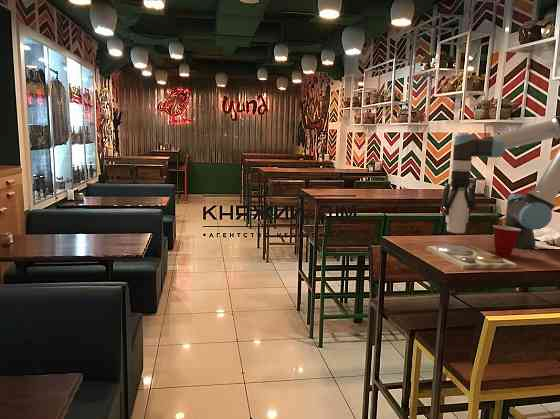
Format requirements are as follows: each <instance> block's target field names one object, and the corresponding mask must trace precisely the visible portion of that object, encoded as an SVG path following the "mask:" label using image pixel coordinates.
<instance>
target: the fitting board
mask: <svg viewBox="0 0 560 419" xmlns="http://www.w3.org/2000/svg"><path fill="white" fill-rule="evenodd" d="M436 246H437V245H426V248H425V249H426V251H428V252H430V253H432V254H434V255H436V256H438V257H439V256H440V258H441V257H442V259H443V258H444V259H443V260H446V261H447V262H449V263H451V264H453V265H455V266H457V267H459V268H460V267H461V269H463V270H469V269H471V270H473V269H474V270H479V269H480V270H481V269H487V270H488V269H517V268H518V263H515V262H512V261H510V260H508V259H505V258H503V262H501V263H489V262H484V261H480V260H477V259H475V255H476V254H489V255H495V256H497V255H496V254H494V253H491V252H490V251H488V250H487V251H486V250H485V249H482V248H480V247H478V246H475V245H461V246H462V247H466V248H469V249H471V250H472V251H473V252H472V254H471V255H452V254H446V253H443V252H440V251H438V250H436ZM462 257H469V258H473V259H475V263H467V262H463V261H461V258H462Z"/></svg>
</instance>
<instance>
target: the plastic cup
mask: <svg viewBox="0 0 560 419" xmlns="http://www.w3.org/2000/svg"><path fill="white" fill-rule="evenodd" d="M492 228H493V238H494V240H493V241H494V242H493V243H494V253H495V254H494V255H496V256H499V257H511V256H512V253H513V249H514V248H515V247H514V245H515V242H516V239H517V236H518V234H519V232H520V231H521V229H518V228H514V227H508V226H505V225H501V224H498V225H497V224H493V225H492Z"/></svg>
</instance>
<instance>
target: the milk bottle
mask: <svg viewBox="0 0 560 419" xmlns="http://www.w3.org/2000/svg"><path fill="white" fill-rule="evenodd" d="M464 192H465V188H464V187H460V188H459V190H458V193H457V194H456V195H455V198H454V200H453V202H452V204H451V206H450V208H452V210H451V221H450V223H447V222H446V223H447V224H446V231H447V232H448V233H454V234H465V232H466V229H467V223H466V219H467V202H466V199H465V195H464Z"/></svg>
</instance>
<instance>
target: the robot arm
mask: <svg viewBox="0 0 560 419" xmlns="http://www.w3.org/2000/svg"><path fill="white" fill-rule="evenodd" d="M553 138H554V139H556V140H559V139H560V115H557V116H554V117H551V118H550V120H548V121H544V122H540V123H539V122H538V123H536V124H532V125H529V126H524V127H521V128H517V129H513V130H510V131H505V132H502V133H501V132H500V133H498V134H493V135H490V136H486V137H483V138H474V134H472V133H469V134H468V133H467V134H466V133H457V134H455V136H454V142H453V151H452V152H453V153H452V154H453V156H452V165H451V168H452V171H451V181H450V182H449V183H446V182H445V183H444V184H443V186H444V187H443V194H442V199H441V203H440V206H441V207H444V216H445V223H450V221H451V210H452V208H450V206H451V204H452V202H453V200H454V198H455V195H456V194H457V193H458V190H459V188H460V187H464V188H465V192H464V195H465V199H466V202H467V219H466V224H468V223H469V217H470V216H471V210H472V209H473V207H476V193H475V192H476V191H475V190H476V183H471V182H470V179H471V169H472V158H476V157H477V158H501V157H502V156H503V153H504V151H505V150H511V149H513V148H514V149H515V148H517V147H522V146H526V145H530V144H533V143H538V142H541V141H546V140H549V139H550V140H551V139H553ZM559 192H560V147H558V149H557V151H556V153H555V155H554V156H553V158H552V160H551V161H550V163H549V164H548V166H547V168H546V169H545V171H544V173H543V174H542V176H541V177H540V179H539V181H538V182H537V183H536V186H535V187H534V189H533V190H530V191H527V192H526V194H509V196H508V198H507V201H506V203H507V205H506V214H505V220H504V226H508V227H514V228H518V229H521V231H520V232H519V234H518V236H517V239H516V242H515V245H514V248H518V249H534V248H536V239H535V233H534V231H535V230H541V229H544V228H545V227H547V226H548V225H549V224H550V222H551V220H552V218H553V215H552V214H553V212H552V211H553V210H554V209H555V206H556V203H555V198H556V197H557V196H558V194H559Z"/></svg>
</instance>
